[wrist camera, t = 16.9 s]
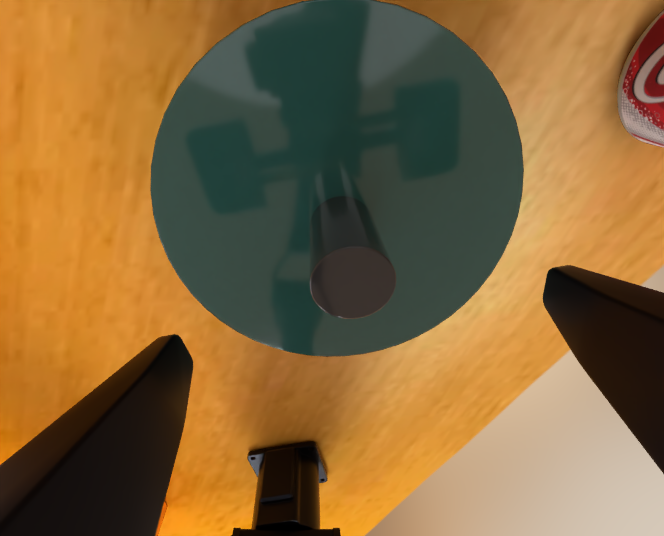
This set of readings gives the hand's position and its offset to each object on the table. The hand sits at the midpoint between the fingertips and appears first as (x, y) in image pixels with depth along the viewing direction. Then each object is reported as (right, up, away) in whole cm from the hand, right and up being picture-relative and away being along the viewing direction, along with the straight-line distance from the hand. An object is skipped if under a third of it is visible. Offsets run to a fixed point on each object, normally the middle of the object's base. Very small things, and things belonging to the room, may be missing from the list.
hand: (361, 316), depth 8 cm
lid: (0, +3, +5) cm, 6 cm away
